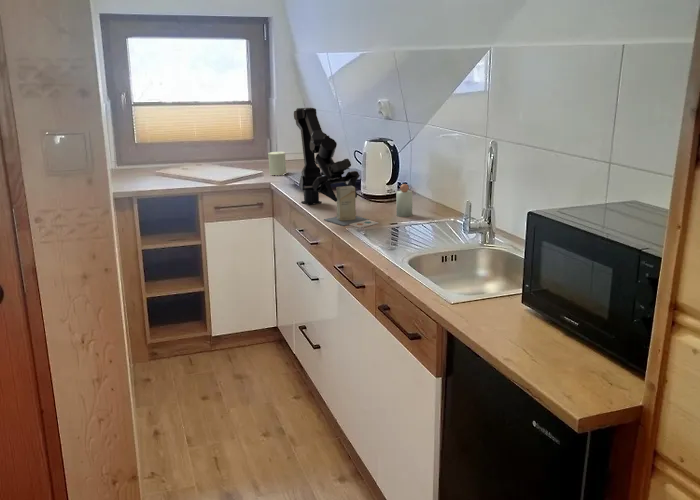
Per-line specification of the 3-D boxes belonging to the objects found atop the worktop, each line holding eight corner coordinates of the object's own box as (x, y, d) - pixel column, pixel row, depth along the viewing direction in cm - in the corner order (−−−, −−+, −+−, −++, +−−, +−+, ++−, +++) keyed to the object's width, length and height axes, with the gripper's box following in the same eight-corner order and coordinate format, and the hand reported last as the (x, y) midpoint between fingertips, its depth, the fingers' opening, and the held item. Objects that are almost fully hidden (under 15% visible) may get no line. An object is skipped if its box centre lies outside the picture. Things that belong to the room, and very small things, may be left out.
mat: (323, 220, 233) (323, 219, 233) (349, 215, 240) (349, 214, 240) (343, 226, 224) (343, 225, 224) (369, 220, 231) (369, 219, 231)
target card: (349, 224, 226) (349, 223, 226) (368, 220, 231) (368, 219, 231) (359, 227, 221) (359, 226, 221) (378, 223, 226) (378, 222, 226)
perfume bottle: (393, 215, 238) (393, 183, 235) (404, 212, 242) (404, 181, 238) (404, 217, 234) (404, 186, 230) (415, 215, 237) (415, 183, 234)
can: (276, 176, 326) (274, 153, 323) (265, 174, 333) (264, 152, 330) (290, 174, 332) (288, 151, 329) (279, 172, 339) (278, 150, 336)
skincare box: (340, 221, 229) (339, 188, 226) (336, 218, 233) (335, 186, 230) (356, 219, 231) (355, 187, 228) (352, 216, 235) (351, 185, 232)
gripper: (315, 154, 223) (335, 189, 218) (356, 149, 234) (375, 182, 229) (304, 174, 232) (322, 208, 226) (343, 167, 243) (362, 200, 237)
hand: (346, 199), depth 230 cm, fingers open, 9 cm apart
